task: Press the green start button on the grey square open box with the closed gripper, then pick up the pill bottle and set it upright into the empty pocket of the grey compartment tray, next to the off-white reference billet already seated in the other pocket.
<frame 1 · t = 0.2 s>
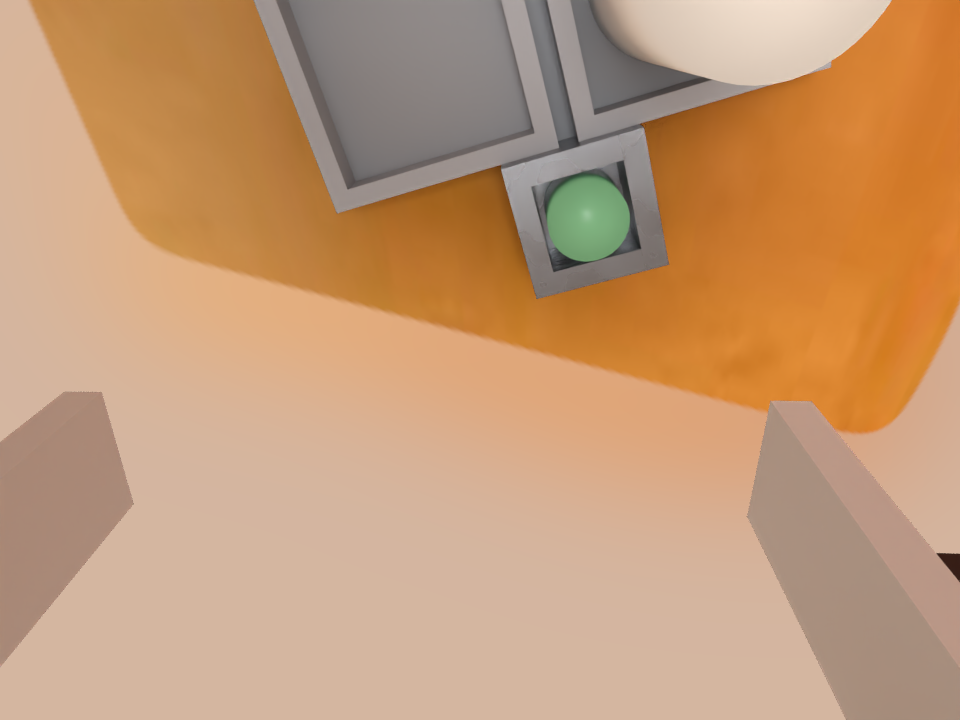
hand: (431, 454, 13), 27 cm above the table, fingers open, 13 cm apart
grey compartment tray: (536, 15, 34), on the table
grey square open box: (579, 197, 38), on the table
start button: (584, 212, 35), point 3 cm above the table, slide at 1.2 cm
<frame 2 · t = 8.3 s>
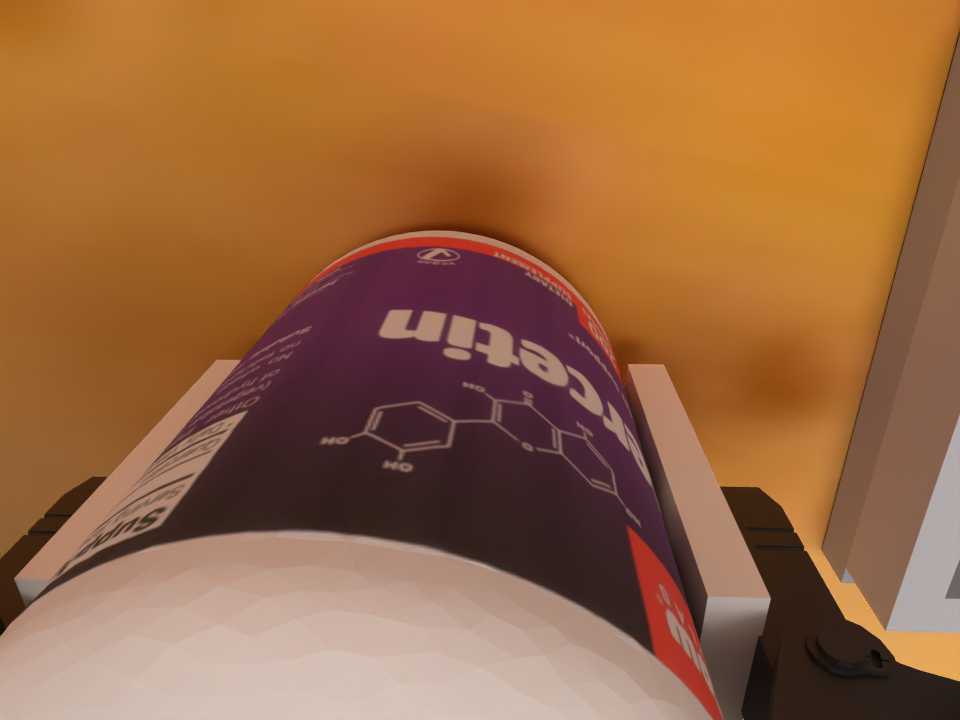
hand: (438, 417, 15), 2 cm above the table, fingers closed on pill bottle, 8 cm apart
pill bottle: (446, 376, 17), on the table, touching gripper
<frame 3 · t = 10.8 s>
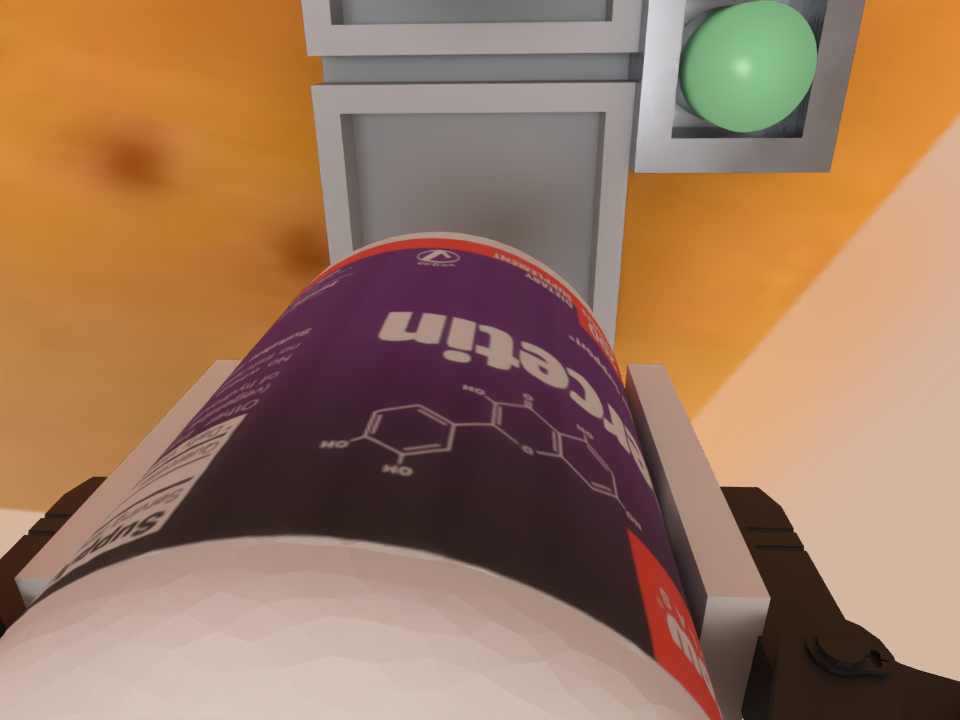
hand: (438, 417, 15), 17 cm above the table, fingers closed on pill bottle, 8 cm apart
pill bottle: (446, 377, 17), point 15 cm above the table, touching gripper
grey compartment tray: (475, 65, 27), on the table
grey square open box: (711, 63, 27), on the table
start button: (736, 66, 24), point 3 cm above the table, slide at 1.2 cm
when the fingers open (5 cm above the table, at t = 13.4 s): pill bottle drops 2 cm, resting on grey compartment tray.
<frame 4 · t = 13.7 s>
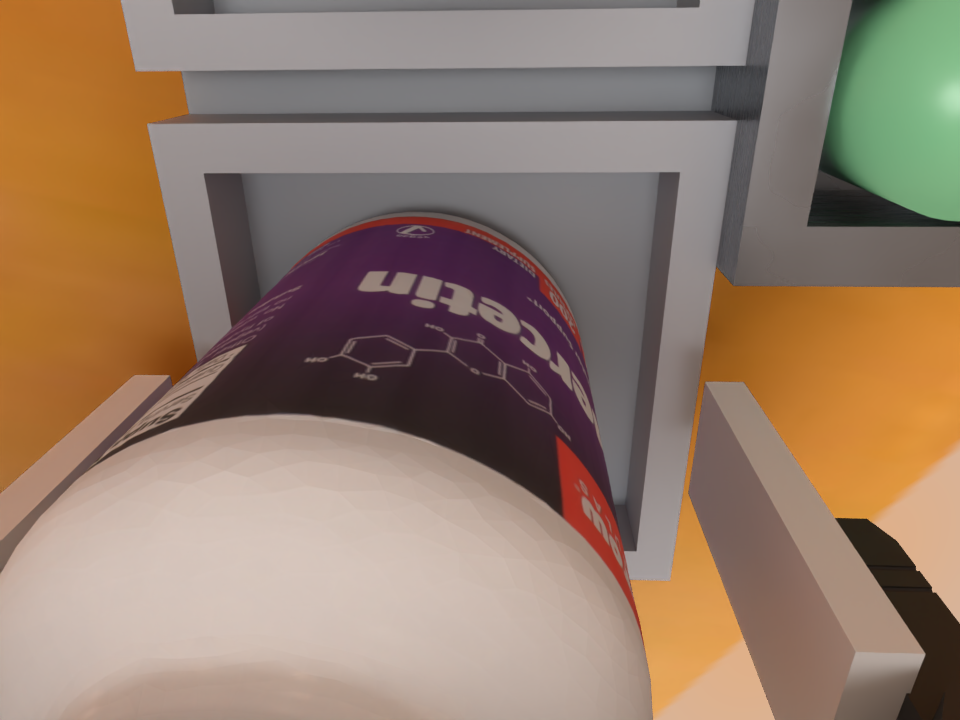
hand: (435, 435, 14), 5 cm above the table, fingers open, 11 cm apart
pill bottle: (428, 347, 18), point 1 cm above the table, touching grey compartment tray
grey compartment tray: (449, 85, 16), on the table
grey square open box: (850, 82, 16), on the table
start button: (928, 92, 13), point 3 cm above the table, slide at 1.2 cm
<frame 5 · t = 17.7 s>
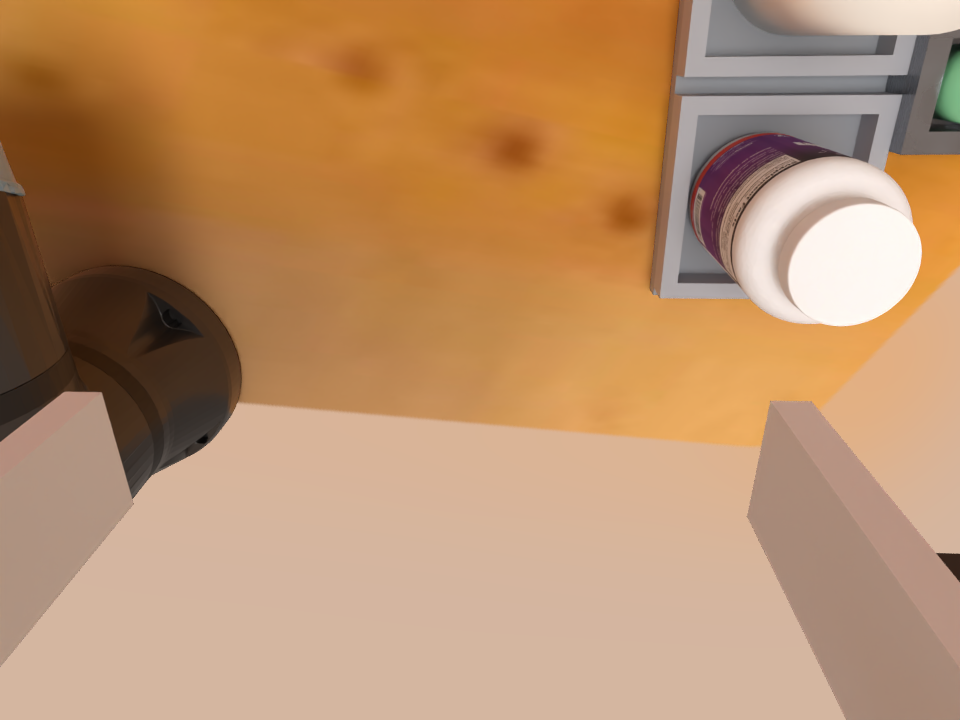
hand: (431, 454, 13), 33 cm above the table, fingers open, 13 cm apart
pill bottle: (749, 196, 42), point 1 cm above the table, touching grey compartment tray
grey compartment tray: (773, 82, 40), on the table
grey square open box: (937, 81, 40), on the table
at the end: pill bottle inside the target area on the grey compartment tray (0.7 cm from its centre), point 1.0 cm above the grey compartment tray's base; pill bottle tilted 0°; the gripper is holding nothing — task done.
